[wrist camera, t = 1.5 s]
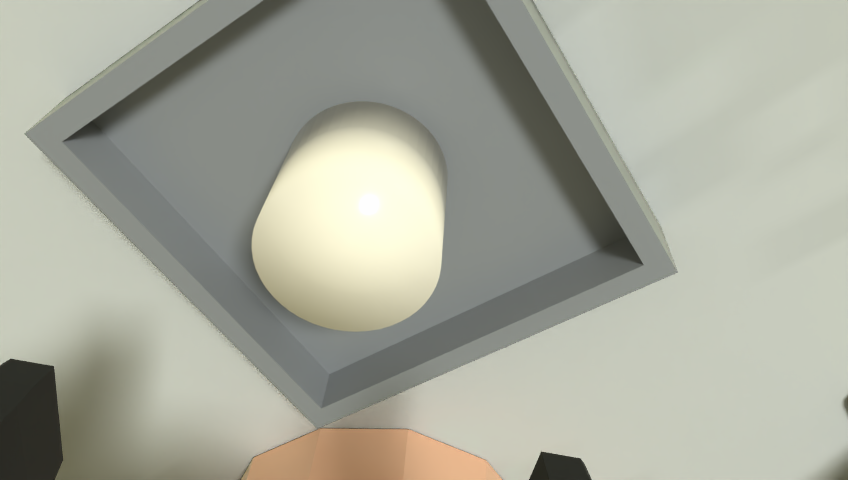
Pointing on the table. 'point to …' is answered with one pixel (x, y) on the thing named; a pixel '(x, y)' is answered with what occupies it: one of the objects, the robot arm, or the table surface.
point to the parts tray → (373, 82)
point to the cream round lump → (355, 219)
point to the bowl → (367, 458)
